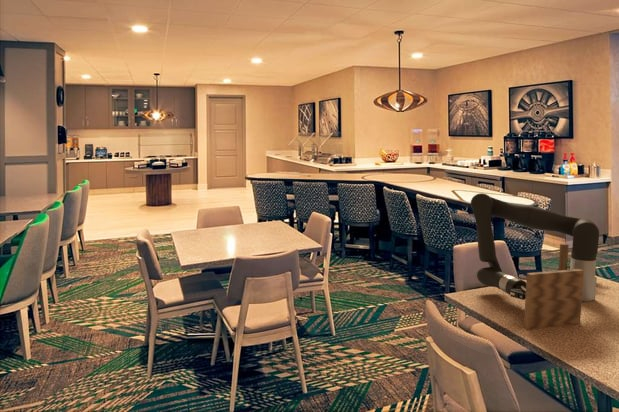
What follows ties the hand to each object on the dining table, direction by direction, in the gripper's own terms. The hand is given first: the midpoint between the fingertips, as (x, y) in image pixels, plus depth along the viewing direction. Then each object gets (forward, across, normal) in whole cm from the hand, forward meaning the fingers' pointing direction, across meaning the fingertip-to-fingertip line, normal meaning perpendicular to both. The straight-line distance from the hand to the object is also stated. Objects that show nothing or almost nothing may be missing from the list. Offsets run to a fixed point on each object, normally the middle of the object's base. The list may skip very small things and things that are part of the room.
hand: (541, 299), depth 185 cm
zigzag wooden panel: (+4, 0, +8) cm, 8 cm away
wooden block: (-36, +44, +8) cm, 58 cm away
